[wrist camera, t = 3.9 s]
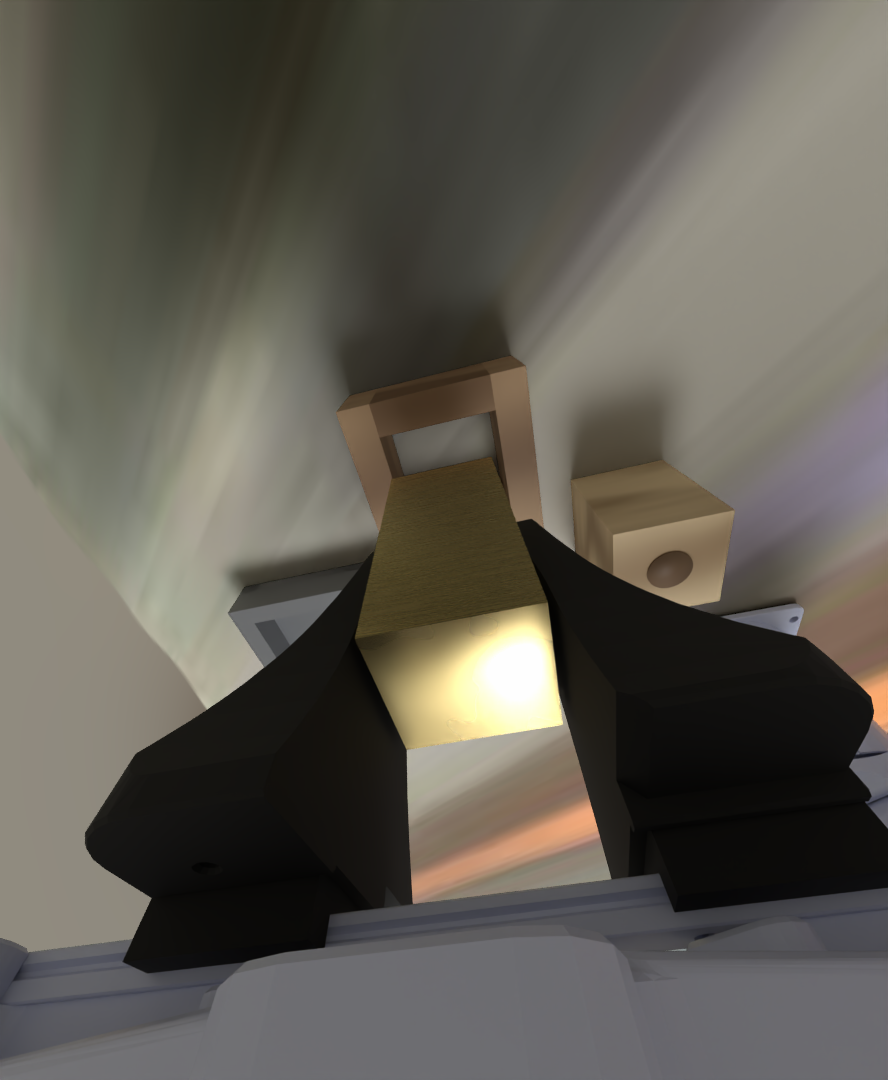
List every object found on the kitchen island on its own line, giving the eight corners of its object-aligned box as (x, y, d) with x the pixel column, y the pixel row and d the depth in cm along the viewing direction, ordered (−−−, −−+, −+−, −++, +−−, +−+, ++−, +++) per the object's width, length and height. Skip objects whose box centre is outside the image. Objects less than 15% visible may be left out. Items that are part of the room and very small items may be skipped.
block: (657, 535, 22) (720, 601, 17) (575, 552, 22) (614, 621, 18) (662, 459, 20) (735, 511, 15) (570, 479, 20) (613, 535, 15)
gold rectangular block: (506, 542, 14) (563, 724, 8) (417, 561, 14) (406, 749, 8) (491, 456, 12) (547, 602, 6) (391, 479, 13) (354, 639, 7)
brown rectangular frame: (530, 504, 21) (544, 533, 18) (395, 532, 21) (391, 564, 19) (511, 355, 17) (525, 365, 14) (349, 395, 18) (335, 412, 15)
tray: (452, 672, 27) (453, 700, 25) (312, 697, 28) (304, 726, 26) (413, 552, 22) (411, 576, 20) (244, 587, 23) (227, 613, 21)
